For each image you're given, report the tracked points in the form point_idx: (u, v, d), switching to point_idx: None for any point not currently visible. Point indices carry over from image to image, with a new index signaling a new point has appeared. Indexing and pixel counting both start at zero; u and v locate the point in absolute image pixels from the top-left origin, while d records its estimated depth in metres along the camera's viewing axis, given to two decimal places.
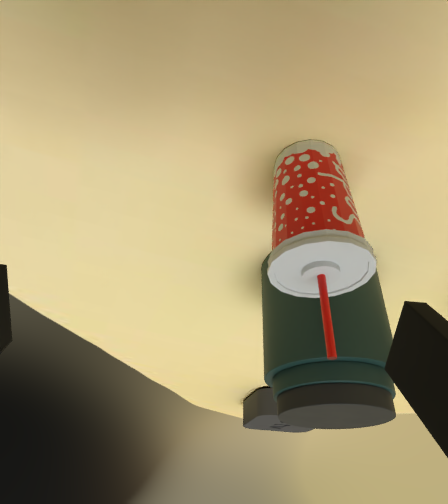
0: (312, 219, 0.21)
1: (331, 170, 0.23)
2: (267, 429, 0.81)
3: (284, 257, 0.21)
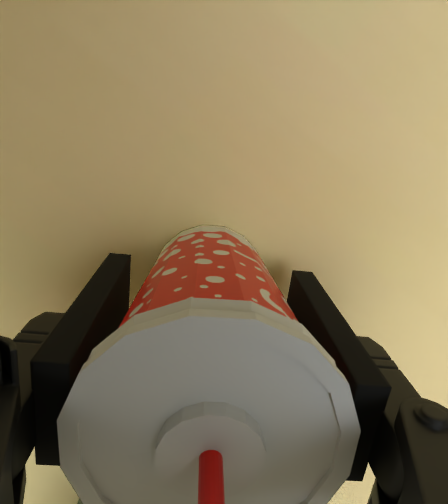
0: (215, 290, 0.08)
1: (256, 259, 0.13)
2: None
3: (119, 364, 0.07)
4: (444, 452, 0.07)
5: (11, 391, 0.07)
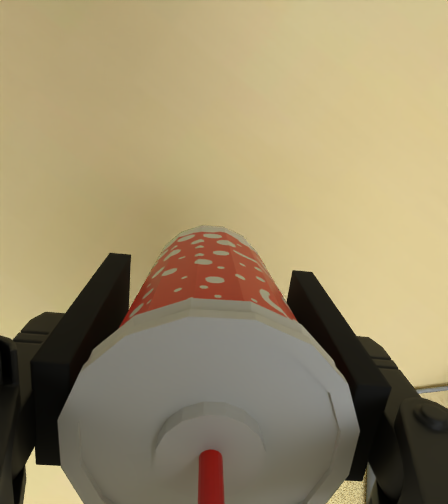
0: (215, 291, 0.08)
1: (256, 259, 0.13)
2: None
3: (120, 364, 0.07)
4: (444, 452, 0.07)
5: (11, 391, 0.07)
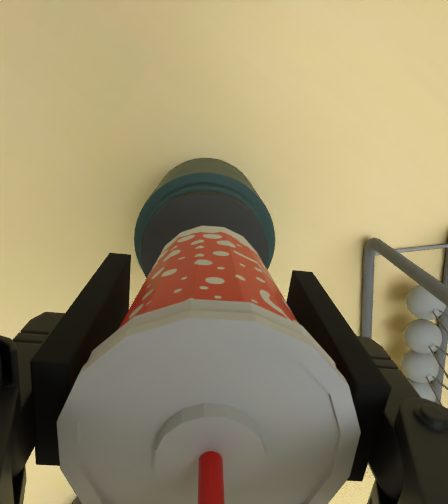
0: (215, 292, 0.08)
1: (256, 259, 0.13)
2: None
3: (119, 366, 0.07)
4: (444, 452, 0.07)
5: (11, 391, 0.07)
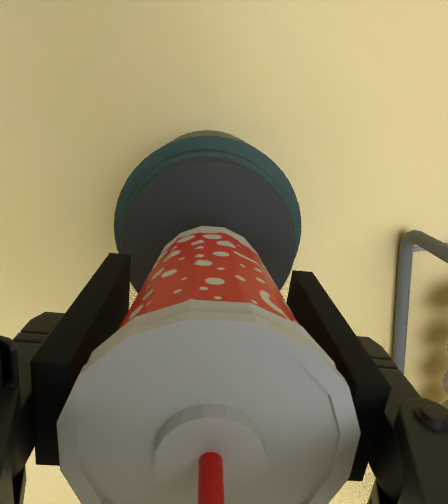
0: (215, 292, 0.08)
1: (256, 260, 0.13)
2: None
3: (119, 367, 0.07)
4: (444, 452, 0.07)
5: (11, 391, 0.07)
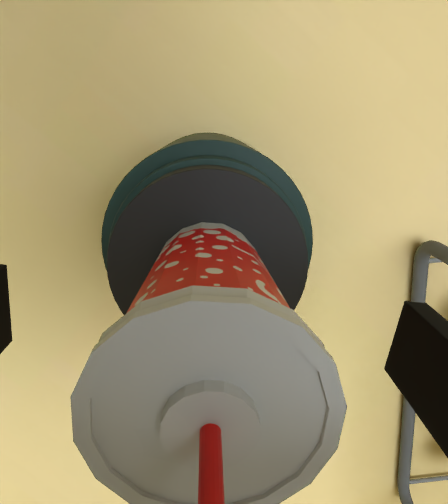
0: (214, 280, 0.09)
1: (253, 253, 0.14)
2: None
3: (128, 345, 0.08)
4: None
5: None
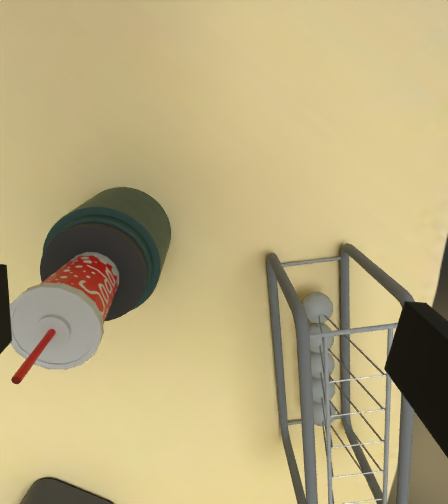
0: (59, 280, 0.25)
1: (99, 268, 0.30)
2: None
3: (21, 302, 0.24)
4: None
5: None
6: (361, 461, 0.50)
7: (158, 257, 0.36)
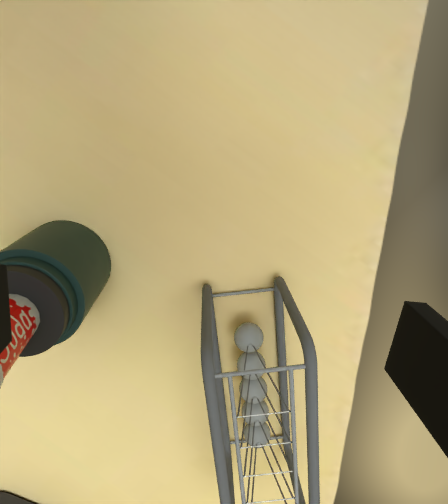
0: None
1: (13, 313, 0.32)
2: None
3: None
4: None
5: None
6: (293, 482, 0.53)
7: (82, 295, 0.38)
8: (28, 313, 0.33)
